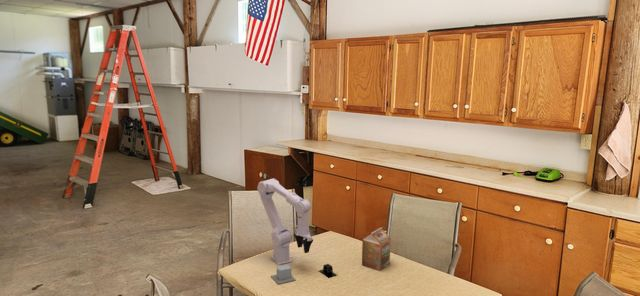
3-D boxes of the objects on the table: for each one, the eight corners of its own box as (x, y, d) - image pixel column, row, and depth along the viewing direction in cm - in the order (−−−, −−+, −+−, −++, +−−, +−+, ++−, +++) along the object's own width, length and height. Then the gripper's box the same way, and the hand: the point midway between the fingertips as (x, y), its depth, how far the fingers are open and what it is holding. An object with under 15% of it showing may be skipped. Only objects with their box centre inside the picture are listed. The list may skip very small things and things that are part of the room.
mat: (270, 277, 209) (270, 275, 209) (287, 273, 214) (287, 271, 213) (278, 284, 201) (278, 283, 201) (295, 280, 206) (295, 279, 206)
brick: (276, 277, 208) (276, 267, 207) (287, 274, 211) (287, 264, 210) (279, 280, 204) (279, 270, 204) (291, 277, 207) (291, 268, 206)
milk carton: (379, 271, 217) (380, 235, 213) (361, 265, 223) (362, 230, 220) (389, 264, 225) (391, 229, 222) (372, 258, 231) (373, 225, 228)
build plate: (315, 271, 217) (315, 262, 216) (326, 267, 221) (326, 259, 220) (329, 281, 207) (329, 271, 206) (341, 277, 211) (341, 268, 210)
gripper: (290, 220, 220) (290, 246, 222) (302, 230, 207) (302, 256, 209) (302, 218, 223) (302, 243, 225) (315, 227, 210) (315, 253, 213)
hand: (303, 249), depth 217 cm, fingers open, 7 cm apart
